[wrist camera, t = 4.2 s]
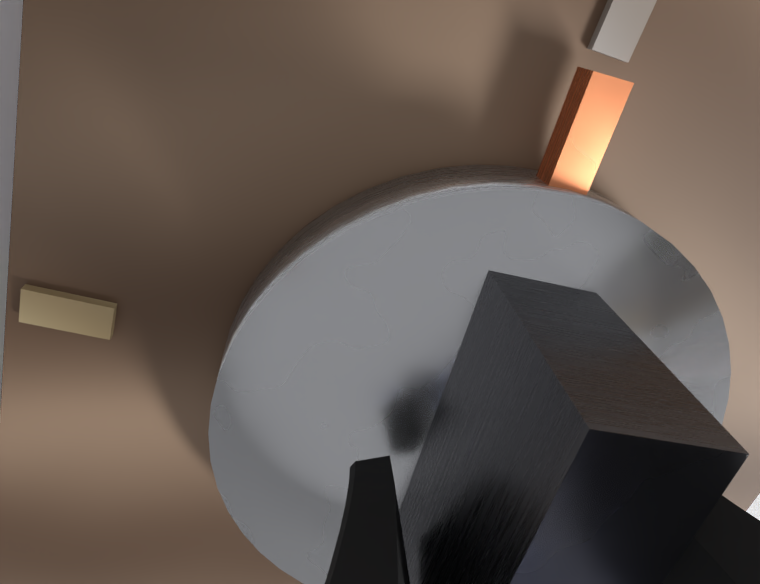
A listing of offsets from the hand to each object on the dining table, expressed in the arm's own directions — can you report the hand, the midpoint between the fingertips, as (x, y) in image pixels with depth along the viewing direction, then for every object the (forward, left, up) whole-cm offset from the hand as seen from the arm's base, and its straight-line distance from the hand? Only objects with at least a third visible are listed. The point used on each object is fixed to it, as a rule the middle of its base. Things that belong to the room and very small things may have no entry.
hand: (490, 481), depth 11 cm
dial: (+1, 0, -2) cm, 3 cm away
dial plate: (0, 0, -4) cm, 4 cm away
